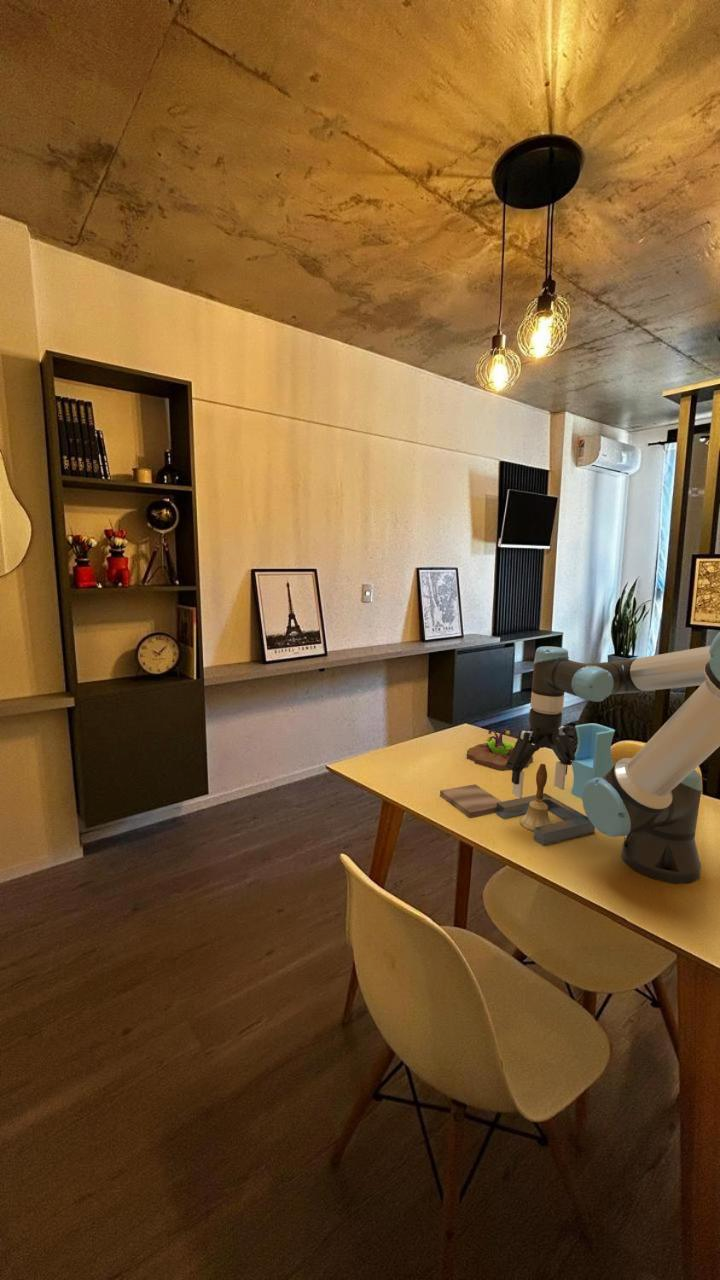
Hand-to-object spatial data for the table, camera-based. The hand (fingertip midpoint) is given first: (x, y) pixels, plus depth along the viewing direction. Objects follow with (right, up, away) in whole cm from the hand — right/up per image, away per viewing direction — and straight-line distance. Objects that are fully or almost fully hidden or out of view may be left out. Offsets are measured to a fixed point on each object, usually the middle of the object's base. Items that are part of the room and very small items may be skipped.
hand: (538, 791), depth 131 cm
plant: (+2, -3, +46) cm, 46 cm away
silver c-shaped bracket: (+2, -8, +2) cm, 9 cm away
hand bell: (0, -9, +1) cm, 9 cm away
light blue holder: (+21, -7, +19) cm, 29 cm away
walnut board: (-14, -7, +12) cm, 20 cm away
